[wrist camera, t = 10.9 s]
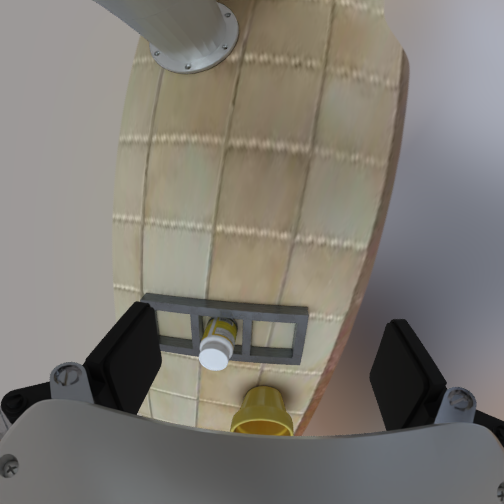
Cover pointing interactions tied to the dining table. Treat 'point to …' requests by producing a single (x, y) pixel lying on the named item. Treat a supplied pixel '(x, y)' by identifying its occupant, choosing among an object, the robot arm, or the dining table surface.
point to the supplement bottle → (218, 343)
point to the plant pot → (263, 414)
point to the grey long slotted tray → (232, 311)
